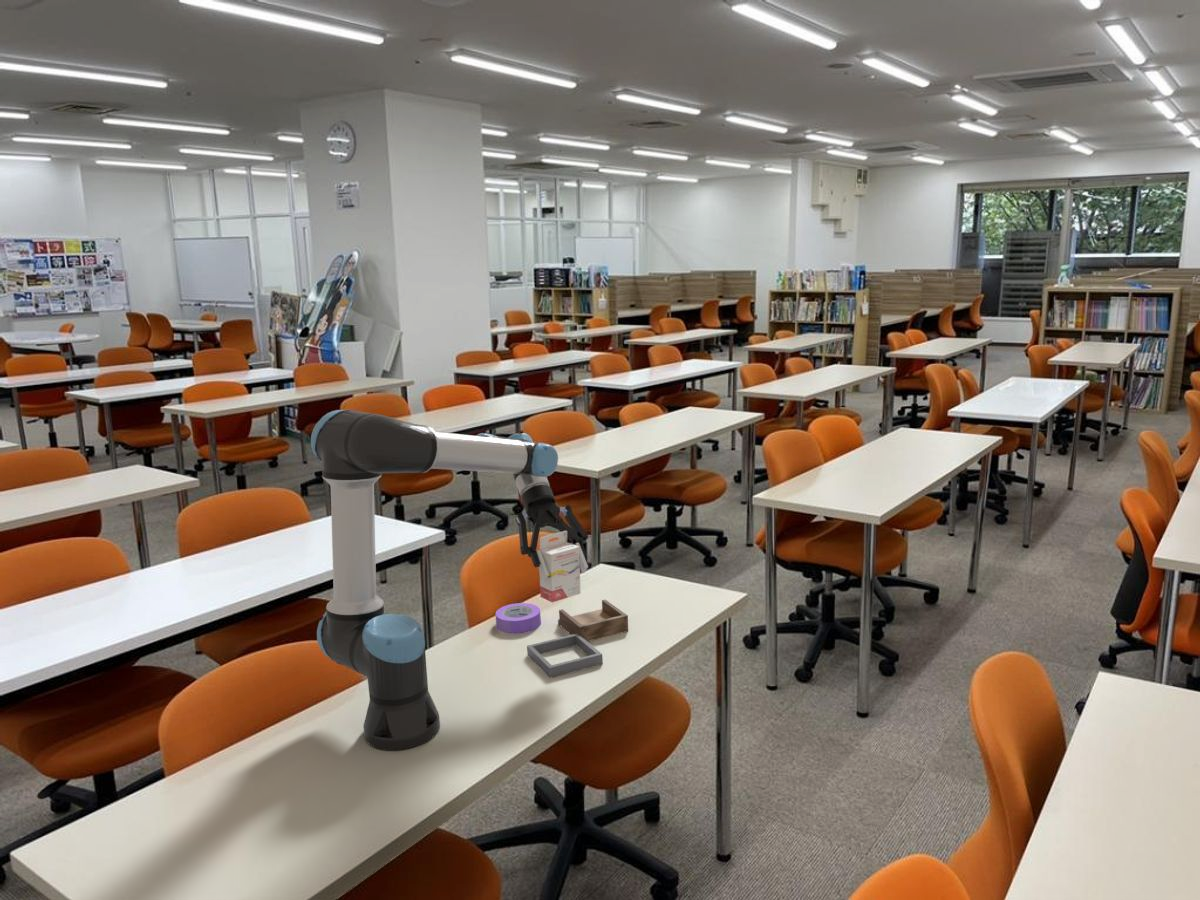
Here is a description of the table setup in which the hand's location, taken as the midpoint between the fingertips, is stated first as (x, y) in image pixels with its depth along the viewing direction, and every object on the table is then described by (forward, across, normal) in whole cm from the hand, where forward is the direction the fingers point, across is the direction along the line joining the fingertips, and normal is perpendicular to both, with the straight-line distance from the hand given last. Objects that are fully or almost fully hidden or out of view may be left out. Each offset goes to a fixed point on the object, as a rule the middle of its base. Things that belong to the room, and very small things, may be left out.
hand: (565, 573), depth 198 cm
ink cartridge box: (+2, 0, -7) cm, 7 cm away
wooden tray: (+5, -14, -27) cm, 31 cm away
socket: (+14, 0, -18) cm, 23 cm away
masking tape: (-4, +2, -36) cm, 37 cm away
